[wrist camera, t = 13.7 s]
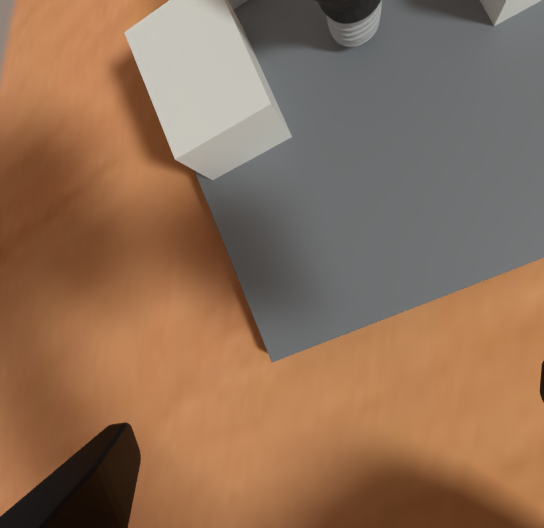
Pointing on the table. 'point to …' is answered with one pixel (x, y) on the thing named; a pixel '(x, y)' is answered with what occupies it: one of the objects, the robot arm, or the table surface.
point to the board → (355, 150)
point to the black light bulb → (352, 19)
